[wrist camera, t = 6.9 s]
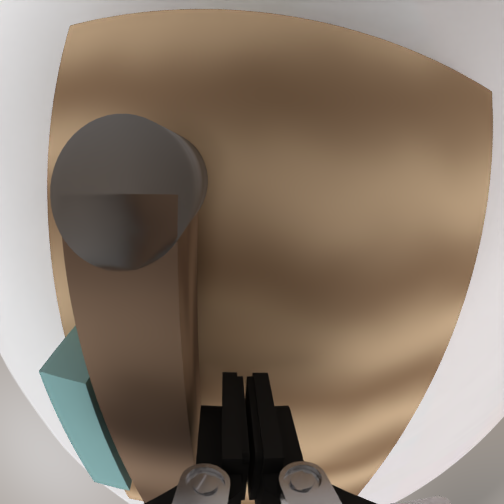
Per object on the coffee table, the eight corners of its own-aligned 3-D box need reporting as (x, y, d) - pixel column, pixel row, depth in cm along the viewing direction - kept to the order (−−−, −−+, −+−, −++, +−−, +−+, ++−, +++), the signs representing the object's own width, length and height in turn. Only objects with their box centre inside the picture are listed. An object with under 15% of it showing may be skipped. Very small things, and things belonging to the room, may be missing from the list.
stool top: (84, 36, 9) (70, 25, 8) (473, 94, 11) (491, 91, 9) (131, 485, 18) (129, 498, 17) (351, 486, 20) (355, 498, 18)
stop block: (81, 318, 11) (39, 371, 8) (120, 324, 12) (85, 383, 8) (111, 431, 14) (94, 481, 10) (142, 437, 14) (129, 490, 10)
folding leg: (112, 133, 9) (52, 122, 5) (210, 130, 9) (196, 110, 6) (150, 451, 14) (140, 503, 10) (210, 457, 14) (208, 512, 10)
